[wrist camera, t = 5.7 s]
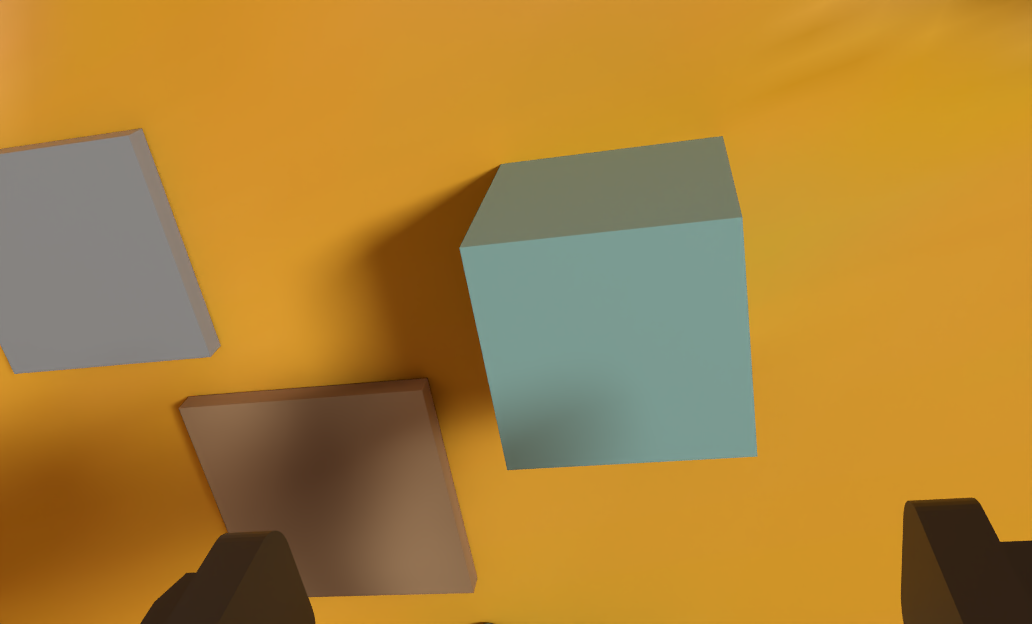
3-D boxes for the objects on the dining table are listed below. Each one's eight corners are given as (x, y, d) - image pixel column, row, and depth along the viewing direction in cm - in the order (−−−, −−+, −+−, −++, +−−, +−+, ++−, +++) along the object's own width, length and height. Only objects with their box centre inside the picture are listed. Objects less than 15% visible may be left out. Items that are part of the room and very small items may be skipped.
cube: (722, 135, 19) (742, 216, 15) (736, 333, 21) (757, 456, 17) (501, 163, 20) (459, 247, 16) (535, 350, 22) (507, 470, 18)
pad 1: (141, 128, 21) (128, 135, 21) (220, 345, 24) (211, 356, 23) (-69, 159, 22) (-87, 166, 22) (28, 362, 25) (14, 374, 24)
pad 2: (427, 378, 23) (421, 390, 23) (477, 578, 26) (473, 592, 26) (188, 396, 25) (178, 408, 24) (262, 584, 28) (254, 598, 27)
